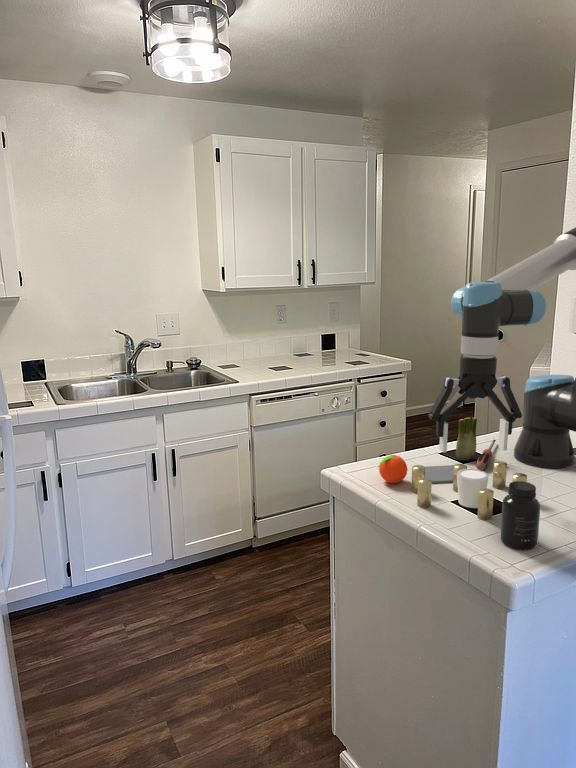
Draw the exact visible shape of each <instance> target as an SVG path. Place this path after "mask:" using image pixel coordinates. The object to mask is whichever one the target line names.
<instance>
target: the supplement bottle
mask: <svg viewBox="0 0 576 768" xmlns="http://www.w3.org/2000/svg"><path fill="white" fill-rule="evenodd" d="M536 492H537V487H536V485H534V484H532V483H531V482H528V481H527V482H523V481H515V482H510V483H509V484H508V491H507V495H506V496H504V497H503V499H502V502H501V503H502V505H501V517H500V518H501V519H500V520H501V522H500V541H501V543H502V544H504V546H506V547H508V548H510V549H513V550H517V551H530V550H533V549H535V548H536V547H537V545H538V544H539V543H538V542H539V529H540V517H541V516H540V515H541V514H540V513H541V504H540V502H539V500H538V499H537V498H536V496H537V493H536Z"/></svg>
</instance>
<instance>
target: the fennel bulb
mask: <svg viewBox="0 0 576 768" xmlns="http://www.w3.org/2000/svg"><path fill="white" fill-rule="evenodd" d="M477 422H478V418H477V417H472V418H471V417H464V419H463V418H461V419H459V420H458V437H457V440H456V446H455V447H456V448H455V457H456V458H457V459H458V460H459V461H464V462H467V461H470V462H471V461H473V460H474V459H475V457H476V453H477Z"/></svg>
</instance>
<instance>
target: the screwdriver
mask: <svg viewBox="0 0 576 768" xmlns="http://www.w3.org/2000/svg"><path fill="white" fill-rule="evenodd" d="M495 442H496V439H493V440H492V441H491V443H490V445H489V447H488V448H486V449H483V451H482V452H481V455H479V457H478V458H477V460H476V461H477V462H476V464H475V465H476V470H481V471H484V470H485V469H486V468H488V467H489V462H490V459H491V458H492V456H493V452H492V448H493V447H494V445H495Z"/></svg>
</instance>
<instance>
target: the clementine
mask: <svg viewBox="0 0 576 768" xmlns="http://www.w3.org/2000/svg"><path fill="white" fill-rule="evenodd" d="M378 471H379V475H380V477H381V478H382V479H383V480H384V481H385V482H386V483H390V484H397V483H400V482H402V481H404V479H405V478H406V476H407V474H408V464H407V463H406V461H405V460H404V459H403V458H402V457H401V456H399V455H396V454H390V455H387V456H385V457H383V459H382V460H381V461H380V463H379V466H378Z"/></svg>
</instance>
